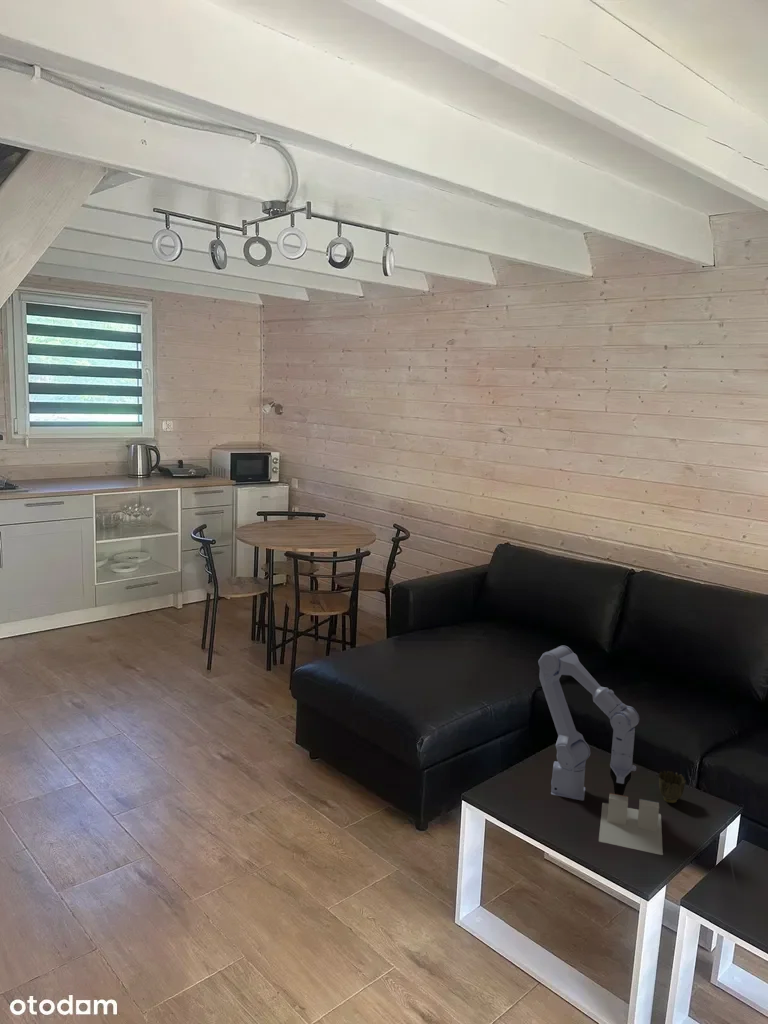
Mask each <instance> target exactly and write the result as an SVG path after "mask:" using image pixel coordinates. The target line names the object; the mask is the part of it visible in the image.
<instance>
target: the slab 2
mask: <svg viewBox="0 0 768 1024" xmlns="http://www.w3.org/2000/svg"><path fill="white" fill-rule="evenodd" d="M638 802H639V803H638V810H639V812H638V828H641V829H646V830H651V831H656V832H657V825H658V814H660V813H659V812H660V802H659V801H653V800H649V799H644V798H639V801H638Z"/></svg>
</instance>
